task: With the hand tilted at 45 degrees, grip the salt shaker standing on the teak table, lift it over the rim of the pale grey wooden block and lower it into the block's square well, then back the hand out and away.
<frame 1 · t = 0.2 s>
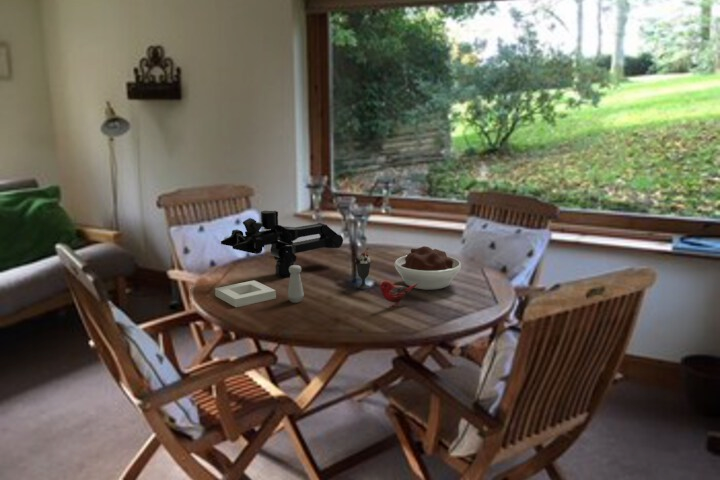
hand: (226, 245, 243), 17 cm above the table, tool horizontal, fingers open, 9 cm apart
decorative bird figurine: (399, 305, 226), on the table
sundae: (363, 287, 246), on the table
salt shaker: (295, 301, 231), on the table
bowl of chocolate pudding: (427, 286, 247), on the table
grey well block: (245, 297, 235), on the table
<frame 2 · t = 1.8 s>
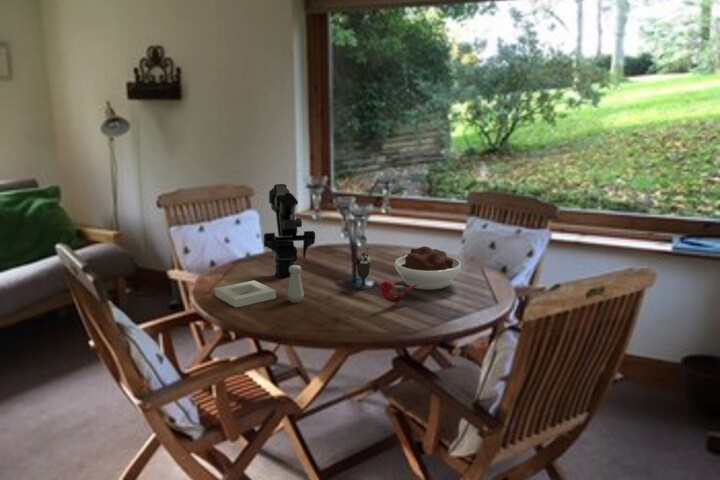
hand: (291, 258, 235), 14 cm above the table, tool tilted 45°, fingers open, 9 cm apart
nothing on the table moved.
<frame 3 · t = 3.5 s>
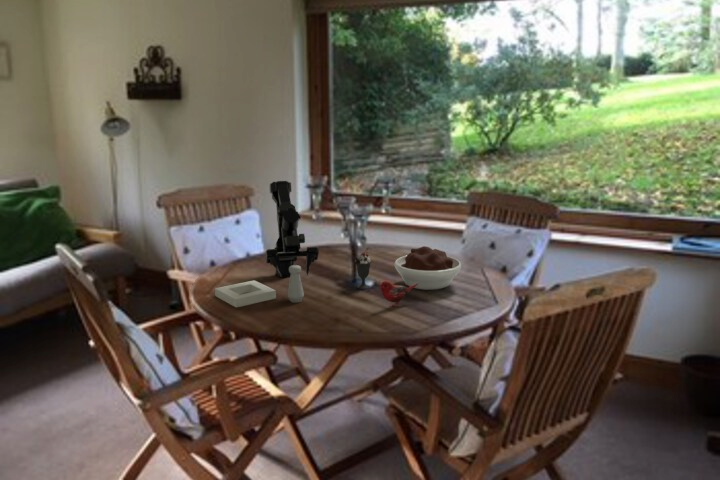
hand: (294, 275, 230), 9 cm above the table, tool tilted 45°, fingers open, 9 cm apart
nothing on the table moved.
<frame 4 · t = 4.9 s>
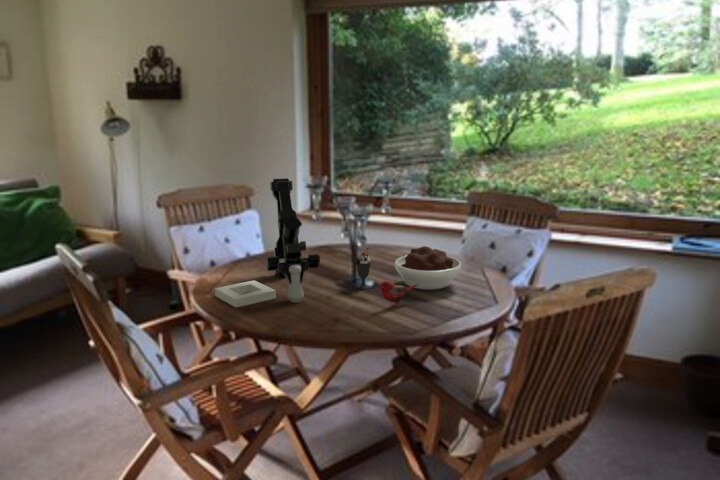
hand: (295, 283, 228), 7 cm above the table, tool tilted 45°, fingers closed on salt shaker, 3 cm apart
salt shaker: (295, 301, 231), on the table, touching gripper
everything else where it was.
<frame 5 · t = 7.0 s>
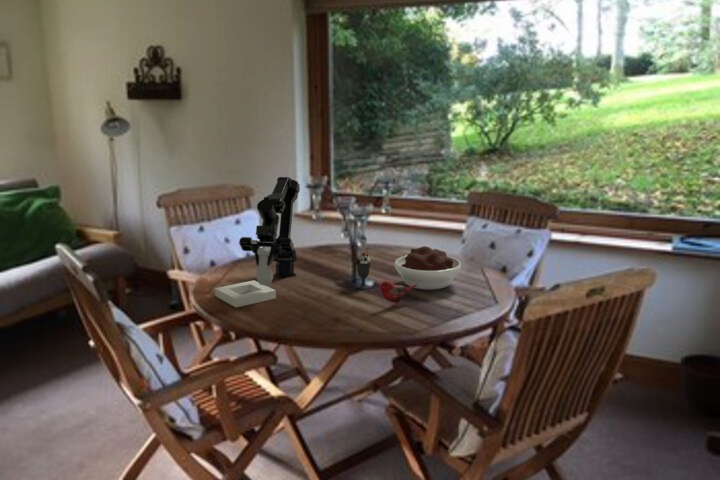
hand: (262, 265, 227), 13 cm above the table, tool tilted 45°, fingers closed on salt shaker, 3 cm apart
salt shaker: (265, 284, 231), point 6 cm above the table, touching gripper
everything else where it was.
when the fingers open (8 cm above the table, at t = 9.1 s): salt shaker drops 1 cm, resting in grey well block.
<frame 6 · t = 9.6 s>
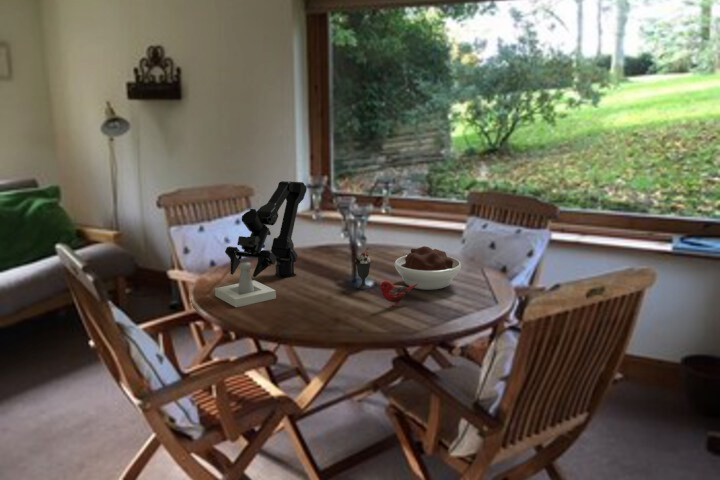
hand: (242, 275, 232), 9 cm above the table, tool tilted 45°, fingers open, 9 cm apart
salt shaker: (246, 297, 235), resting in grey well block
everything else where it was.
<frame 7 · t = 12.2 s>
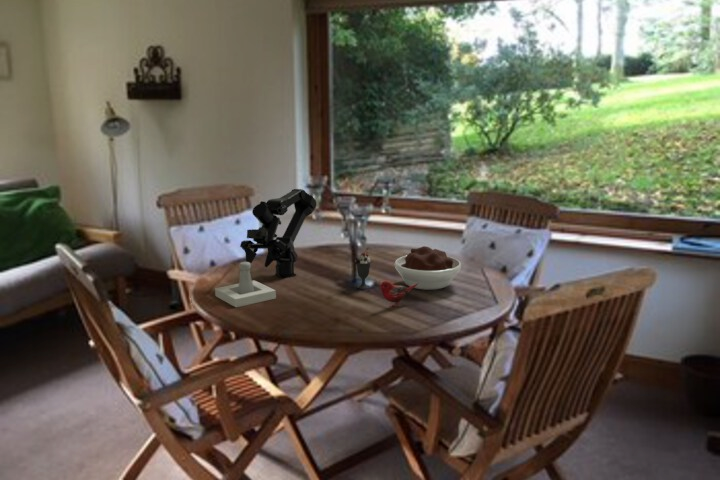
hand: (256, 266, 240), 9 cm above the table, tool tilted 40°, fingers open, 9 cm apart
nothing on the table moved.
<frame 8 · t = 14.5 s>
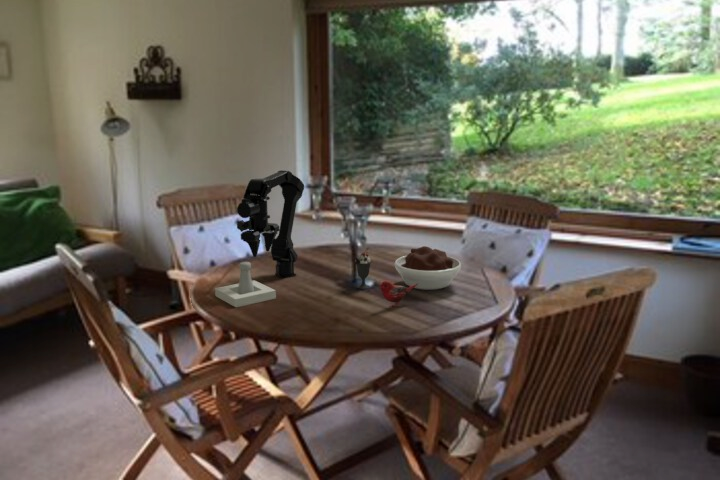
hand: (261, 253, 244), 13 cm above the table, tool pointing down, fingers open, 9 cm apart
nothing on the table moved.
at the end: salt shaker 0.3 cm off-centre on the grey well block, point 0.0 cm above the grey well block's base; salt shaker tilted 0°; the gripper is holding nothing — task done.
